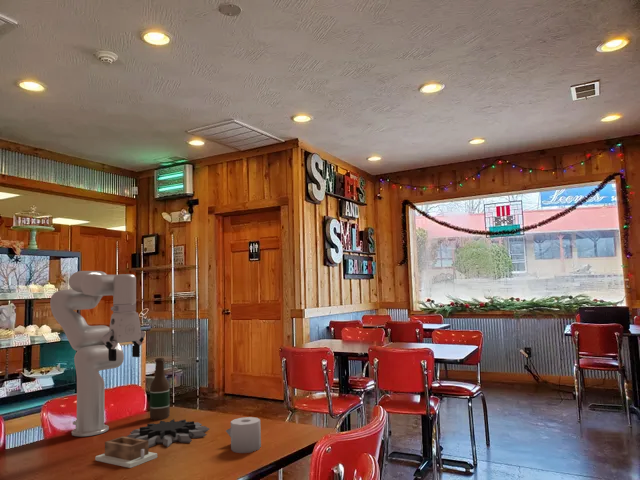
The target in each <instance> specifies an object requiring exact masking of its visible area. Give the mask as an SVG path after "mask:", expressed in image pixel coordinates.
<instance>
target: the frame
mask: <svg viewBox="0 0 640 480" xmlns="http://www.w3.org/2000/svg"><path fill="white" fill-rule="evenodd" d="M141 449H144V456H145V455H148V452H149V448H148V441H147V440H141V439H136V438H130V437H126V436H123V435H122V436H119V437H116V438H113V439H110V440H107V441H104V453H105V455H106V456H110V457H115V458H120V459H125V460H130V461H132V460H134V459H137V458H140V457H141Z"/></svg>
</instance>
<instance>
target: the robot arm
mask: <svg viewBox="0 0 640 480" xmlns="http://www.w3.org/2000/svg"><path fill="white" fill-rule="evenodd" d="M68 286H69V287H70V289H69V288H68V289H67V288H66V289H61V290H57V291H56V292H54V293H53V294H51V297H50V300H49V301H50V302H49V303H50V311H51V314H52V316H53V318H54V319H55V320H56V323H58V325H60V327H61V328H62V329H63V332H64V333H65V337H66V339H67V340H68V342H69V344H70V346H71V348H72V349H73V350H74V351H75V352H76V353H75V355H74V359H73V360H74V367H75V373H76V419H75V420H73V421H72V425H74V426H75V428H73V430H72V431H71V436H74V437H82V438H83V437H92V436H96V435H101V434H104V433H106V432H108V431H109V429H110V428H109V427H110V426H109V425H107V424H105V404H106V403H105V402H106V401H105V399H106V398H105V393H106V391H105V389H106V388H105V384H106V383H105V380H104V378H103V377H102V376H101V374H100V372H99V371H104V370H111V369H112V370H113V369H117V368H119V367H120V366H121V365H122V364H123V363H124V360H125V355H124V350H123V347H122V346H121V344H123V343H130V342H131V343H132V344H133V345H132V347H131V351H132V355H131V357H132V358H140V356H141V354H140V353H141V346H142V343H143V342H144V340H145V337H146V334H147V333H146V332H145V331H144V330H142V329H141V320H140V316H139V312H137V276H135V274H132V273H126V274H125V273H122V274H120V273H119V274H107V273H106V272H104V271H101V270H80V271H76V272H73V273H72V274H71V275H70V276H69V278H68ZM105 296H112V297H113V299H112V301H113V303H112V306H111V307H110V310H111V311H112V313H111V316H110V321H109V326H107V325H103V324H102V325H89V324H88V323H87V320H86V319H85V318H84V316H82V315H81V314H80V313H78V312H77V311H79V310H82V311H83V310H91V309H95V308H96V307H97V306H98V304H99V303H100V302H101V299H102V298H103V297H105Z"/></svg>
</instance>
